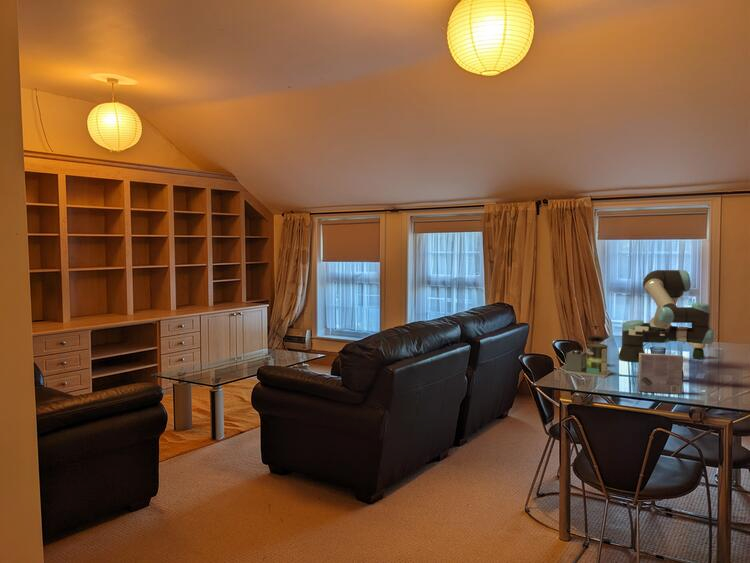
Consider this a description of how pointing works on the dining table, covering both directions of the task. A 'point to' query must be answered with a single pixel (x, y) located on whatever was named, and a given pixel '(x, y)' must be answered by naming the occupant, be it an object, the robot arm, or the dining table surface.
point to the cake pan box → (660, 373)
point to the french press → (595, 336)
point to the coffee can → (597, 357)
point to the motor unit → (581, 365)
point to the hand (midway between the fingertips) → (631, 330)
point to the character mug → (698, 350)
